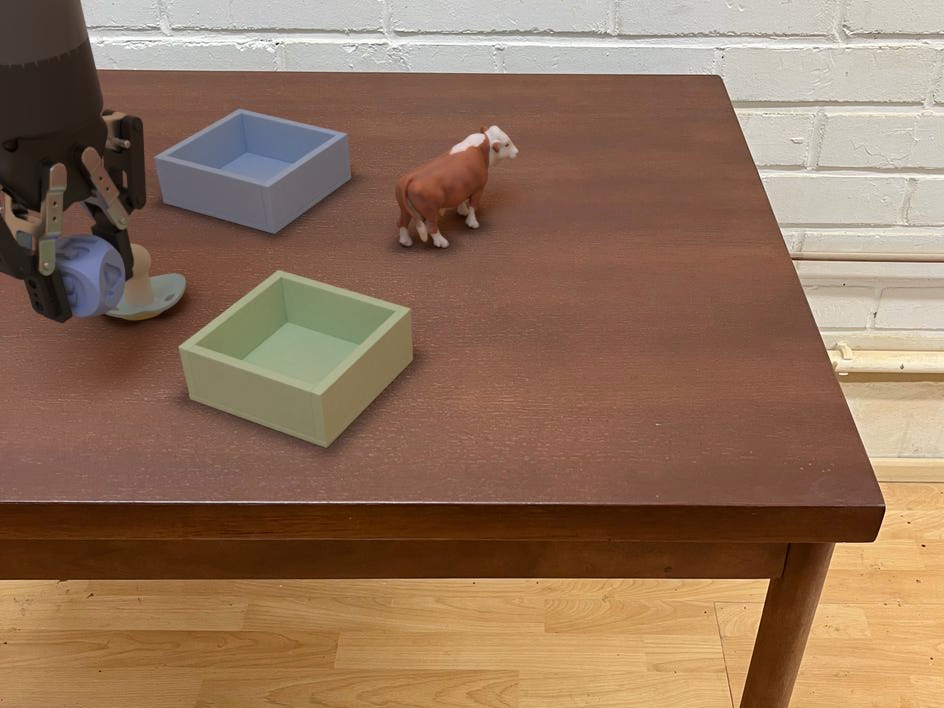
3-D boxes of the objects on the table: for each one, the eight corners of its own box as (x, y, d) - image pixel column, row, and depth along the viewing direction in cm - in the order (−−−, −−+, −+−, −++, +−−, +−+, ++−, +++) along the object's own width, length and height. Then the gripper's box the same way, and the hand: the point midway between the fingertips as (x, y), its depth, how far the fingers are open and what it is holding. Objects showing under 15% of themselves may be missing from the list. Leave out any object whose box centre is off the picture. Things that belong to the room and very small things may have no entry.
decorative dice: (130, 288, 69) (117, 236, 66) (107, 320, 66) (92, 267, 63) (74, 283, 69) (59, 230, 66) (48, 315, 66) (31, 261, 63)
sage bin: (189, 399, 71) (177, 346, 68) (285, 319, 79) (278, 269, 76) (326, 448, 67) (320, 395, 64) (413, 359, 75) (411, 308, 72)
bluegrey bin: (163, 203, 93) (153, 156, 90) (246, 152, 102) (239, 108, 99) (274, 234, 89) (267, 186, 86) (351, 178, 98) (347, 133, 95)
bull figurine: (523, 213, 93) (527, 126, 87) (416, 265, 85) (412, 174, 80) (489, 197, 95) (491, 111, 89) (382, 246, 88) (376, 157, 82)
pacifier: (90, 299, 81) (99, 335, 77) (69, 227, 77) (77, 261, 73) (181, 281, 83) (195, 316, 79) (166, 211, 79) (179, 243, 75)
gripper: (60, -13, 62) (120, 237, 73) (-144, 60, 52) (-38, 334, 64) (156, 9, 59) (203, 264, 71) (-40, 89, 50) (50, 369, 61)
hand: (88, 296), depth 67 cm, fingers closed on decorative dice, 5 cm apart
